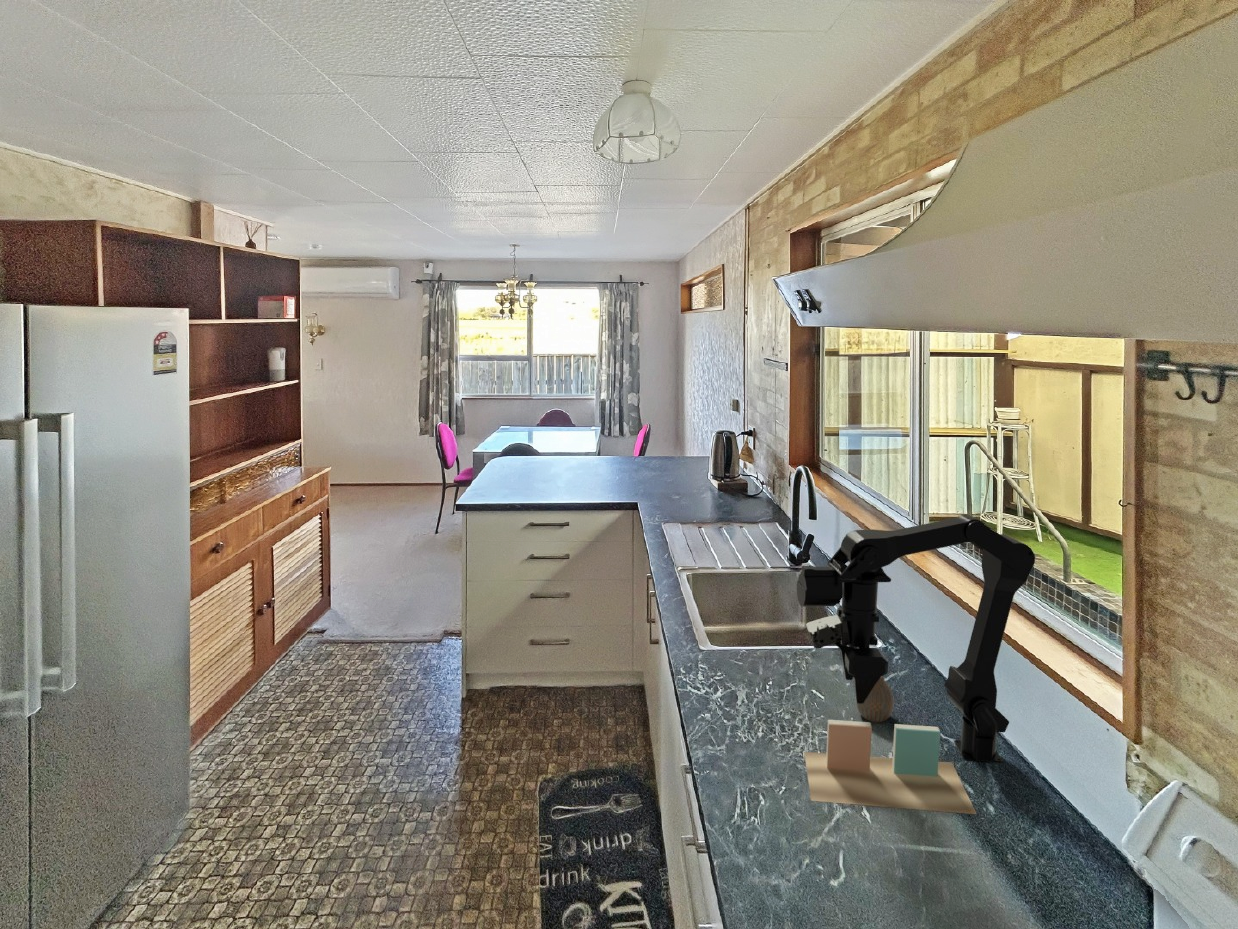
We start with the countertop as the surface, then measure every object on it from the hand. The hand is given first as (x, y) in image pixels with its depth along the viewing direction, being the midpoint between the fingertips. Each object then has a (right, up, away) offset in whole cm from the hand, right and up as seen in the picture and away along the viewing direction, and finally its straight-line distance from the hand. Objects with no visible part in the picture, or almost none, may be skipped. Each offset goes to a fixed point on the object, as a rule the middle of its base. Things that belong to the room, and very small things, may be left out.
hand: (854, 691), depth 138 cm
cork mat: (+3, -14, -6) cm, 15 cm away
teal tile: (+9, -13, -4) cm, 16 cm away
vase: (+9, -10, +16) cm, 21 cm away
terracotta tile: (-2, -12, -2) cm, 13 cm away
